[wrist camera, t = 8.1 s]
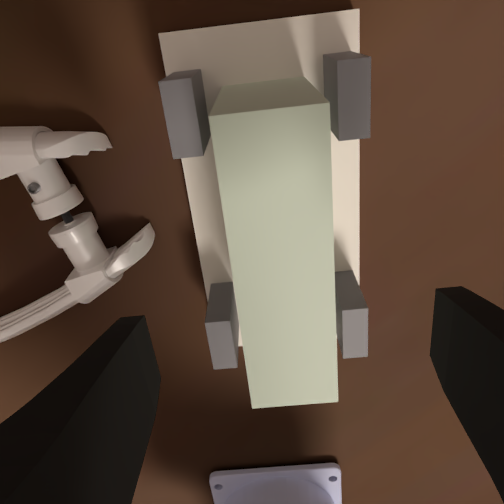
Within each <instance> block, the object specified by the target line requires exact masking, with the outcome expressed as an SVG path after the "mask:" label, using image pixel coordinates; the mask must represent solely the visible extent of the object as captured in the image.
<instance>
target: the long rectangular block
mask: <svg viewBox="0 0 504 504" xmlns="http://www.w3.org/2000/svg"><path fill="white" fill-rule="evenodd" d="M209 123H210V129H211V136H212V143H213V149H214V156H215V163H216V170H217V176H218V183H219V190H220V196H221V203H222V210H223V216H224V223H225V230H226V237H227V243H228V250H229V257H230V263H231V270H232V277H233V283H234V290H235V297H236V304H237V310H238V317H239V324H240V330H241V337H242V344H243V350H244V357H245V364H246V371H247V377H248V384H249V391H250V397H251V404H252V409H254V408H267V407H279V406H292V405H304V404H317V403H329V402H338V374H337V338H336V303H335V268H334V232H333V197H332V162H331V126H330V102H329V101H328V100H327V99H326V98H325V97H324V96H323V95H322V94H321V93H320V92H319V91H318V90H317V89H316V88H315V87H314V86H313V85H312V84H311V83H310V82H309V81H308V80H307V79H306V78H305V77H295V78H286V79H278V80H269V81H260V82H252V83H243V84H235V85H226V86H222V88H221V90H220V92H219V95H218V97H217V99H216V101H215V103H214V105H213V108H212V110H211V112H210V114H209Z"/></svg>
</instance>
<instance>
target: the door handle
mask: <svg viewBox="0 0 504 504" xmlns="http://www.w3.org/2000/svg"><path fill="white" fill-rule="evenodd" d="M106 148H112V145H111V143H110V141H109V139H108V137H107V136H106V135H105V134H103V133H99V132H81V131H55V132H53V131H52V130H51V129H49V128H47V127H45V126H15V127H0V180H1V179H4V178H6V177H9V176H12V175H14V174H17V175H18V176H19V178H20V180H21V181H22V183H23V185H24V186H25V188H26V190H27V191H28V193H29V194H30V196H31V198H32V199H33V201H34V202H32V204H31V205H32V207H33V209H34V211H35V213H36V215H37V217H38V218H39V220H47V219H50V218H53V217H56V216H58V215H61V217H62V219H63V220H64V221H62V222H60V223H58V224H57V225H55V226H54V227H53V228H52V229H50V231H49V232H48V234H49V236H50V237H51V239H52V240H53V242H54V243H55V244H56V246H57V247H58V248H63V250H64V251H65V253H66V255H67V256H68V258H69V259H70V261H71V263H72V264H73V266H74V269H73V270H72V272H71V273H70V275H69V276H68V277H67V279H66V280H65V282H64V283H65V285H63V286H62V287H60V288H59V289H57V290H55V291H53V292H51V293H49V294H47V295H46V296H44V297H42V298H40V299H38V300H36V301H34V302H32V303H30V304H29V305H27V306H25V307H23V308H20V309H18V310H16V311H14V312H11V313H9V314H7V315H5V316H2V317H0V343H1V342H3V341H6V340H8V339H10V338H13V337H15V336H18V335H20V334H22V333H24V332H26V331H28V330H30V329H32V328H34V327H36V326H37V325H39V324H41V323H43V322H45V321H47V320H49V319H51V318H53V317H55V316H57V315H59V314H60V313H62V312H64V311H65V310H67V309H69V308H70V307H72V306H74V305H75V304H77V303H79V302H80V303H83V304H87V303H90V302H91V301H93V300H94V299H95V298H97V297H98V296H99V295H101V294H102V293H103V292H105V291H106V290H107V289H109V288H110V287H111V286H113V285H114V284H115V283H117V282H118V281H119V280H121V278H122V277H123V274H124V271H126V270H127V269H129V268H130V267H131V266H133V265H134V264H135V263H136V262H137V261H139V260H140V259H141V258H142V257H144V256H145V255H146V254H147V252H148V251H149V250H150V248H151V247H152V245H153V242H154V238H155V232H154V230H153V228H152V226H151V224H150V222H149V223H148V224H147V225H146V226H145V227H144V228H142V229H141V230H140V231H139V232H138V233H137V234H135V235H134V236H133V237H132V238H131V239H129V240H128V241H127V242H126V243H125V244H123V245H122V246H121V247H119V248H118V249H117V247H116V246H114V247H111V248H108V249H106V247H105V245H104V244H103V242H102V240H101V238H100V236H99V235H98V233H97V230H98V228H99V227H98V225H97V223H96V220H95V218H94V216H93V214H92V212H83V213H80V214H77V215H75V216H72V215H71V214H70V212H69V210H71V209H73V208H74V207H76V206H77V205H79V204H80V203H81V202H82V201H83V200H84V198H83V196H82V195H81V193H80V191H79V190H78V188H77V187H76V185H75V184H70V183H69V182H68V180H67V178H66V176H65V175H64V173H63V171H62V169H61V167H60V166H59V164H58V162H57V160H56V159H55V158H67V157H70V156H71V155H88V154H89V152H90V151H106Z"/></svg>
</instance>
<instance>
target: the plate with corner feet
mask: <svg viewBox="0 0 504 504" xmlns="http://www.w3.org/2000/svg"><path fill="white" fill-rule="evenodd" d="M158 35H159V40H160V46H161V51H162V57H163V62H164V68H165V73H166V77H165V78H163V79H162V80H160V81H159V82H158V83H159V88H160V93H161V98H162V104H163V109H164V114H165V119H166V124H167V130H168V135H169V140H170V145H171V150H172V156H173V159H180V158H181V160H182V165H183V171H184V176H185V182H186V187H187V192H188V198H189V203H190V209H191V214H192V220H193V225H194V230H195V236H196V241H197V247H198V252H199V258H200V263H201V268H202V274H203V279H204V285H205V290H206V296H207V301H208V306H207V312H206V318H205V327H206V332H207V337H208V342H209V348H210V353H211V358H212V363H213V368H214V370H215V369H227V368H237V366H238V346H243V344H242V337H241V330H240V324H239V317H238V310H237V304H236V297H235V290H234V283H233V277H232V270H231V263H230V257H229V250H228V243H227V237H226V230H225V223H224V216H223V210H222V203H221V196H220V190H219V183H218V176H217V170H216V163H215V156H214V149H213V143H212V136H211V129H210V123H209V114H210V112H211V110H212V108H213V105H214V103H215V101H216V99H217V97H218V95H219V92H220V90H221V88H222V86H226V85H235V84H243V83H252V82H260V81H269V80H278V79H286V78H295V77H305V78H306V79H307V80H308V81H309V82H310V83H311V84H312V85H313V86H314V87H315V88H316V89H317V90H318V91H319V92H320V93H321V94H322V95H323V96H324V97H325V98H326V99H327V100H328V101H329V102H330V126H331V162H332V197H333V232H334V268H335V303H336V338H338V341H339V345H340V349H341V352H342V356H343V359H345V358H356V357H368V307H367V304H366V302H365V299H364V297H363V294H362V292H361V290H360V287H359V139H364V138H370V106H371V57H370V56H367V55H363V54H360V53H359V9H353V10H344V11H336V12H328V13H320V14H312V15H304V16H296V17H287V18H279V19H271V20H263V21H255V22H247V23H239V24H230V25H222V26H214V27H206V28H198V29H190V30H182V31H173V32H165V33H158Z"/></svg>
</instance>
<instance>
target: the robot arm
mask: <svg viewBox="0 0 504 504" xmlns="http://www.w3.org/2000/svg"><path fill="white" fill-rule="evenodd" d="M430 357H431V359H432V362H433V365H434V367H435V370H436V373H437V376H438V378H439V380H440V383H441V385H442V388H443V390H444V392H445V394H446V396H447V398H448V400H449V402H450V404H451V406H452V407H453V409H454V411H455V413H456V415H457V417H458V418H459V420H460V422H461V424H462V426H463V427H464V429H465V431H466V433H467V435H468V436H469V438H470V440H471V442H472V444H473V445H474V447H475V449H476V451H477V453H478V454H479V456H480V458H481V460H482V462H483V463H484V465H485V467H486V469H487V471H488V472H489V474H490V476H491V478H492V480H493V482H494V484H495V486H496V488H497V490H498V492H499V494H500V496H501V498H502V500H503V503H504V310H503V309H501V308H500V307H498V306H496V305H494V304H493V303H491V302H489V301H488V300H486V299H484V298H482V297H481V296H479V295H477V294H475V293H474V292H472V291H470V290H468V289H466V288H464V287H462V286H459V287H449V288H438V289H436V292H435V303H434V315H433V326H432V337H431V348H430ZM160 381H161V376H160V372H159V369H158V365H157V361H156V357H155V353H154V350H153V346H152V342H151V338H150V334H149V331H148V327H147V323H146V319H145V316H133V317H122V318H120V319H119V320H117V321H116V322H115V323H114V324H113V325H112V326H111V327H110V328H109V329H108V330H107V331H106V332H105V333H104V334H102V335H101V336H100V337H99V338H98V339H97V340H96V341H95V342H94V343H93V344H92V345H91V346H90V347H89V348H88V349H87V350H86V351H85V352H84V353H83V354H82V355H81V356H80V357H79V358H78V359H76V360H75V361H74V362H73V363H72V364H71V365H70V366H69V367H68V368H67V369H66V370H65V371H64V372H63V373H61V374H60V375H59V376H58V377H57V378H56V379H55V380H53V381H52V382H51V383H50V384H49V385H48V386H47V387H45V388H44V389H43V390H42V391H41V392H40V393H38V394H37V395H36V396H35V397H34V398H33V399H32V400H30V401H29V402H28V403H27V404H25V405H24V406H23V407H22V408H20V409H19V410H18V411H17V412H15V413H14V414H13V415H11V416H10V417H9V418H7V419H6V420H5V421H3V422H2V423H1V424H0V504H131V503H132V499H133V496H134V492H135V488H136V485H137V481H138V478H139V474H140V471H141V467H142V463H143V460H144V456H145V453H146V449H147V446H148V442H149V438H150V435H151V431H152V427H153V424H154V420H155V416H156V410H157V404H158V397H159V389H160ZM209 483H210V487H211V492H212V496H213V500H214V504H342V496H341V470H340V466H339V465H338V464H336V463H320V464H306V465H293V466H279V467H266V468H252V469H238V470H225V471H215V472H212V473H211V474H210V478H209Z"/></svg>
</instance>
